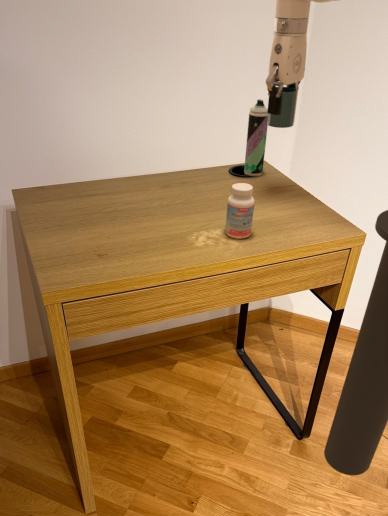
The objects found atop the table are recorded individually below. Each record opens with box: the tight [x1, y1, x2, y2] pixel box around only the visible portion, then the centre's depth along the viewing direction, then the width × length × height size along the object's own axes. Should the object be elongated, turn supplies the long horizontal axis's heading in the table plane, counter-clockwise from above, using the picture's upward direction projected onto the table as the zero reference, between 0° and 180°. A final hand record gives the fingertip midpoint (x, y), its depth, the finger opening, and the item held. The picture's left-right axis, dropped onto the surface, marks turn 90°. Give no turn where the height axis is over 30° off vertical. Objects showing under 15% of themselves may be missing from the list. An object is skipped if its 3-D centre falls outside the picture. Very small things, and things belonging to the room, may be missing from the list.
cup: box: [267, 86, 299, 129], centre depth 123 cm, size 7×7×8 cm
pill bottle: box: [224, 182, 255, 240], centre depth 112 cm, size 6×6×11 cm
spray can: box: [243, 99, 269, 177], centre depth 141 cm, size 6×6×20 cm
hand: (281, 110), depth 123 cm, fingers closed on cup, 7 cm apart
